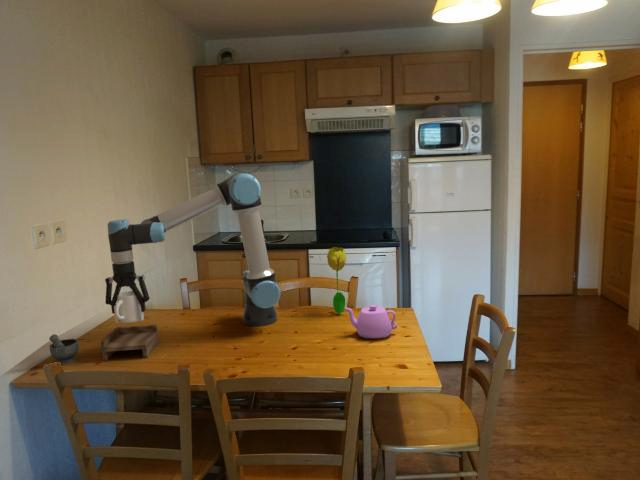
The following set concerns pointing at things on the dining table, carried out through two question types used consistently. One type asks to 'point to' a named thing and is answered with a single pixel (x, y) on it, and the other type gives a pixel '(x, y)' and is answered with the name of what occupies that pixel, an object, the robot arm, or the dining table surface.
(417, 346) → the dining table surface
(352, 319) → the teapot
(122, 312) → the mug
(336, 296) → the flower
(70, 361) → the mortar and pestle
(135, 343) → the shelf
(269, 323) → the robot arm
